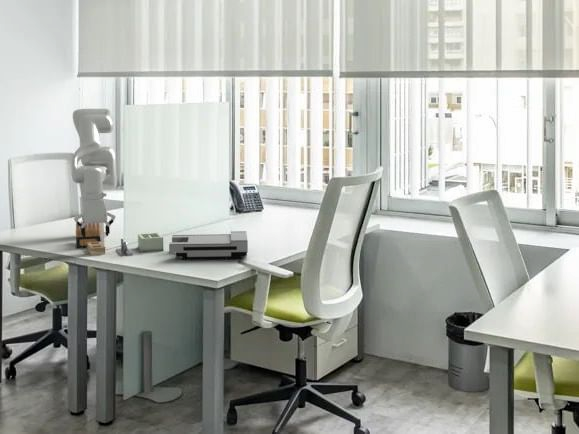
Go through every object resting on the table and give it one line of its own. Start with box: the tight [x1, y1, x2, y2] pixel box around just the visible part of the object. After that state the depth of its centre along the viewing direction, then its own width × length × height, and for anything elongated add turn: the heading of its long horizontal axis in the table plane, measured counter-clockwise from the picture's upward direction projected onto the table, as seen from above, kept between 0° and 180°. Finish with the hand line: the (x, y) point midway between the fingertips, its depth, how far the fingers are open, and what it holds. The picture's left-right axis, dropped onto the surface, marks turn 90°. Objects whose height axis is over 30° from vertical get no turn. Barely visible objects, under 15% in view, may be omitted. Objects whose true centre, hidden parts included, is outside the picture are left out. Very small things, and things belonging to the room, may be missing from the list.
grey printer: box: [168, 230, 249, 261], centre depth 319 cm, size 21×32×8 cm, turn 95°
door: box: [86, 242, 106, 256], centre depth 324 cm, size 13×6×3 cm, turn 22°
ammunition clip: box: [75, 220, 101, 249], centre depth 332 cm, size 11×2×12 cm, turn 105°
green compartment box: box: [137, 232, 164, 253], centre depth 329 cm, size 11×9×6 cm
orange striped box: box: [79, 220, 105, 246], centre depth 340 cm, size 11×11×12 cm
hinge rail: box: [115, 238, 134, 257], centre depth 322 cm, size 13×5×5 cm, turn 22°
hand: (95, 236), depth 322 cm, fingers open, 9 cm apart
